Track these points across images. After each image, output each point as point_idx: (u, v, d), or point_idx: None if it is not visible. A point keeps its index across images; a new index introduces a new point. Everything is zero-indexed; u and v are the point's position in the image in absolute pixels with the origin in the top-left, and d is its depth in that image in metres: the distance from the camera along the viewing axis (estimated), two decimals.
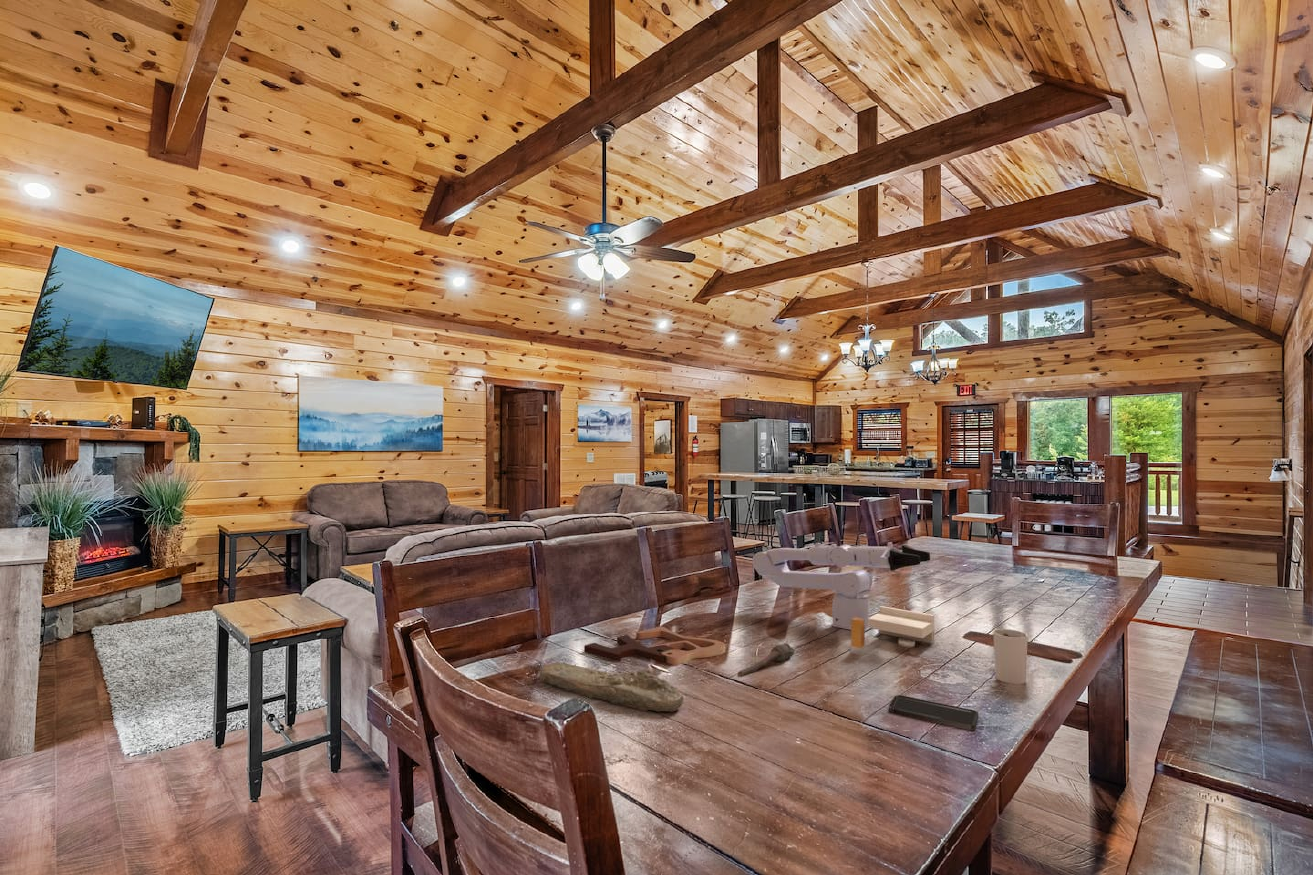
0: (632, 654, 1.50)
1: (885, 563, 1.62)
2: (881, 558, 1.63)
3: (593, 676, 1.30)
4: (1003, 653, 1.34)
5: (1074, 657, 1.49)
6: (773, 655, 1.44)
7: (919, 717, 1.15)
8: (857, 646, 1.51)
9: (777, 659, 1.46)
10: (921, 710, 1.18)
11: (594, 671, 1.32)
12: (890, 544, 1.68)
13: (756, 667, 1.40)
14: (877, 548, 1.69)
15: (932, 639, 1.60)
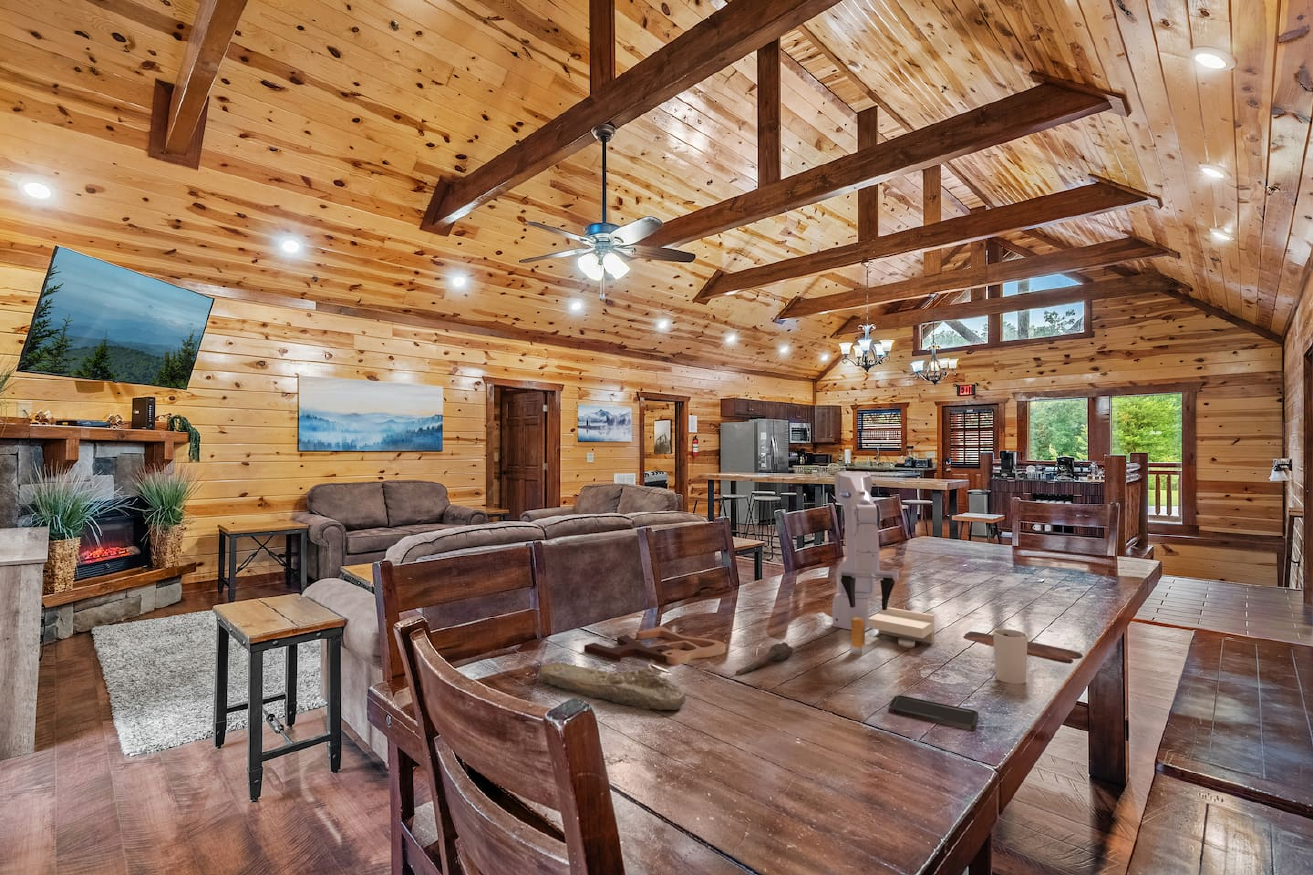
0: (632, 654, 1.50)
1: None
2: None
3: (593, 676, 1.30)
4: (1003, 653, 1.34)
5: (1074, 657, 1.49)
6: (771, 654, 1.44)
7: (919, 717, 1.15)
8: (857, 646, 1.51)
9: (775, 658, 1.46)
10: (921, 710, 1.18)
11: (594, 671, 1.32)
12: (861, 573, 1.51)
13: (754, 666, 1.40)
14: (858, 559, 1.53)
15: (932, 639, 1.60)
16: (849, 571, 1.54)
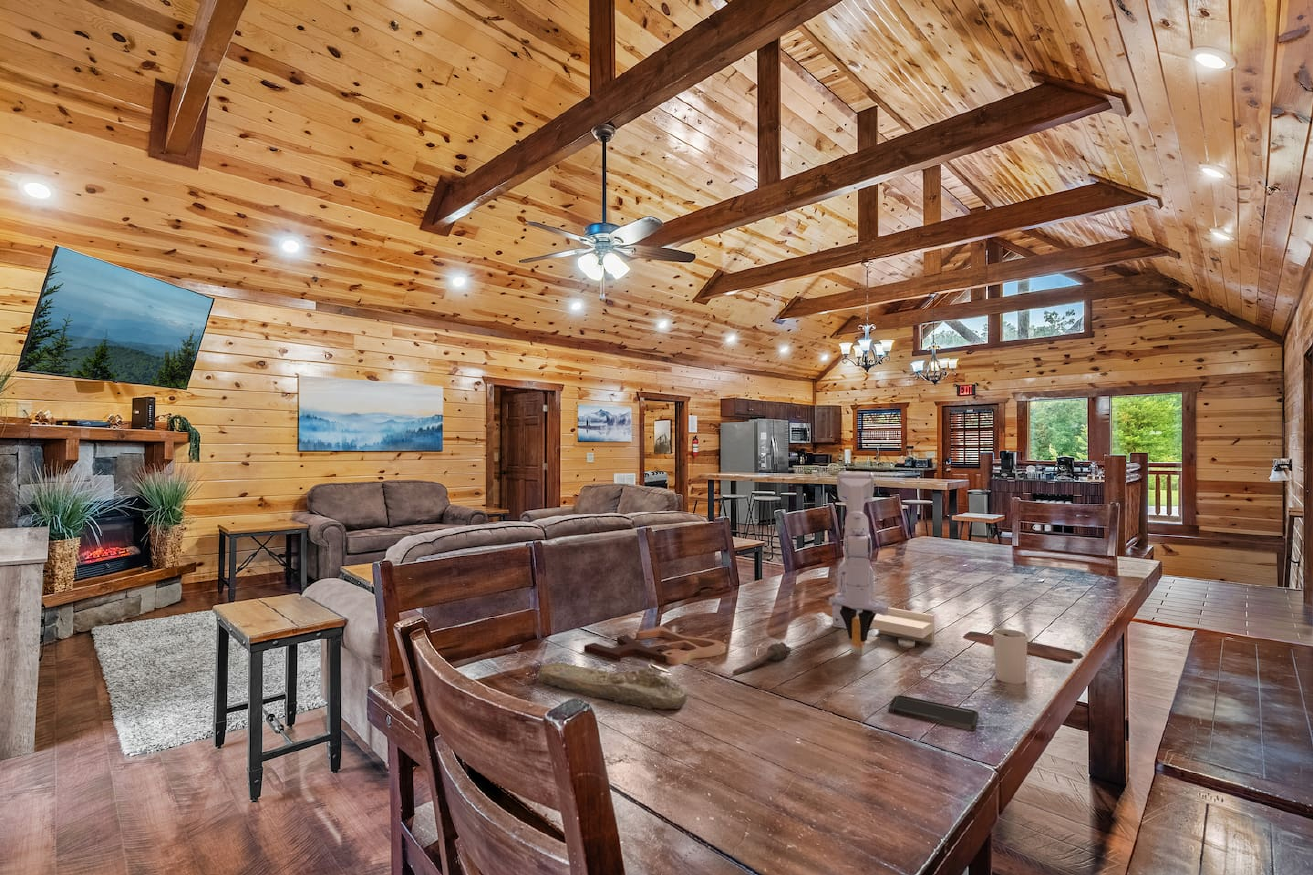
0: (632, 654, 1.50)
1: None
2: None
3: (594, 676, 1.30)
4: (1003, 653, 1.34)
5: (1074, 657, 1.49)
6: (769, 654, 1.45)
7: (919, 717, 1.15)
8: (858, 645, 1.51)
9: (773, 658, 1.46)
10: (921, 710, 1.18)
11: (594, 671, 1.32)
12: None
13: (751, 666, 1.41)
14: (848, 591, 1.52)
15: (932, 639, 1.60)
16: (839, 602, 1.54)
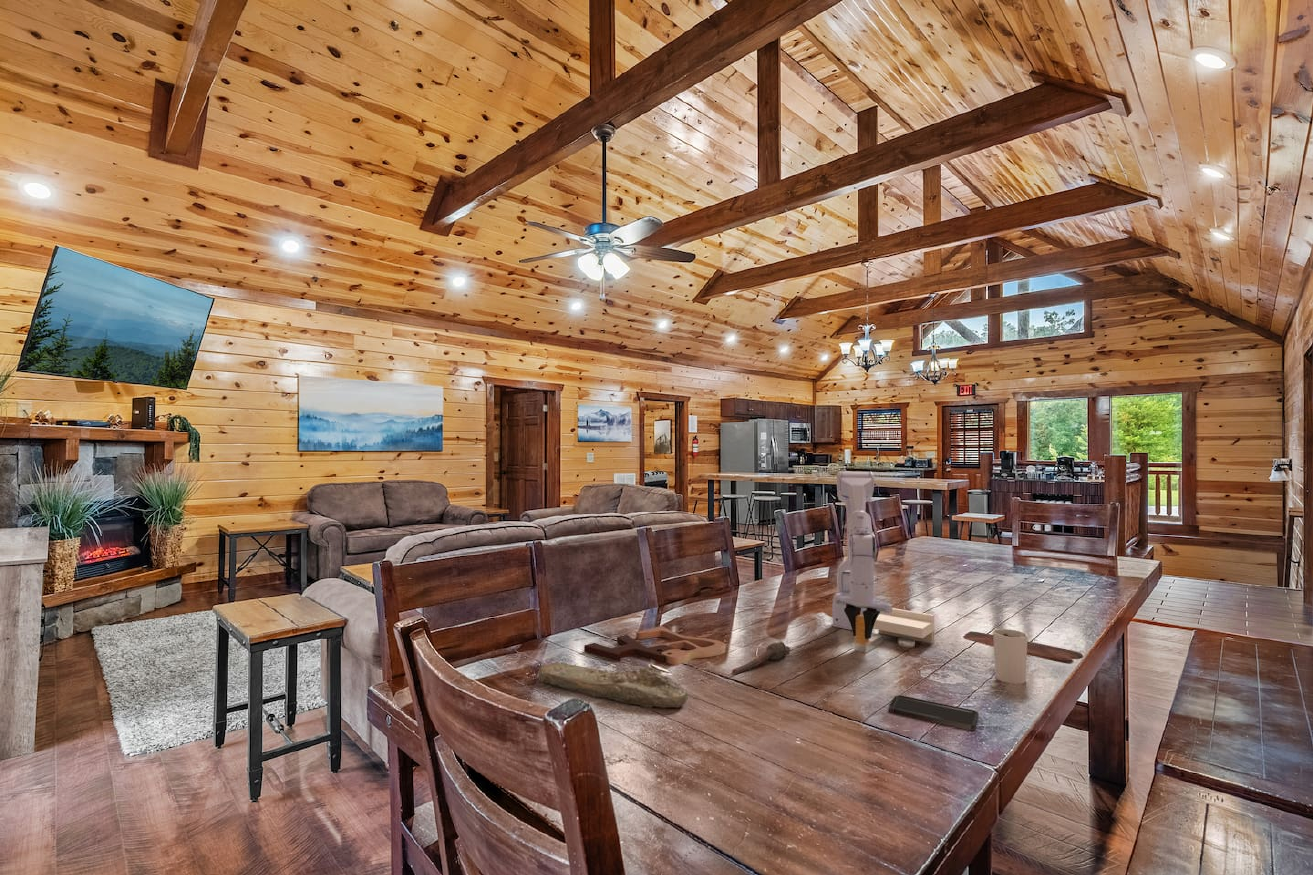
0: (632, 654, 1.50)
1: None
2: None
3: (594, 675, 1.30)
4: (1003, 653, 1.34)
5: (1075, 657, 1.49)
6: (768, 653, 1.45)
7: (919, 717, 1.15)
8: (862, 643, 1.53)
9: (772, 657, 1.46)
10: (921, 710, 1.18)
11: (594, 670, 1.32)
12: None
13: (750, 665, 1.41)
14: (852, 589, 1.54)
15: (932, 639, 1.60)
16: (844, 600, 1.56)
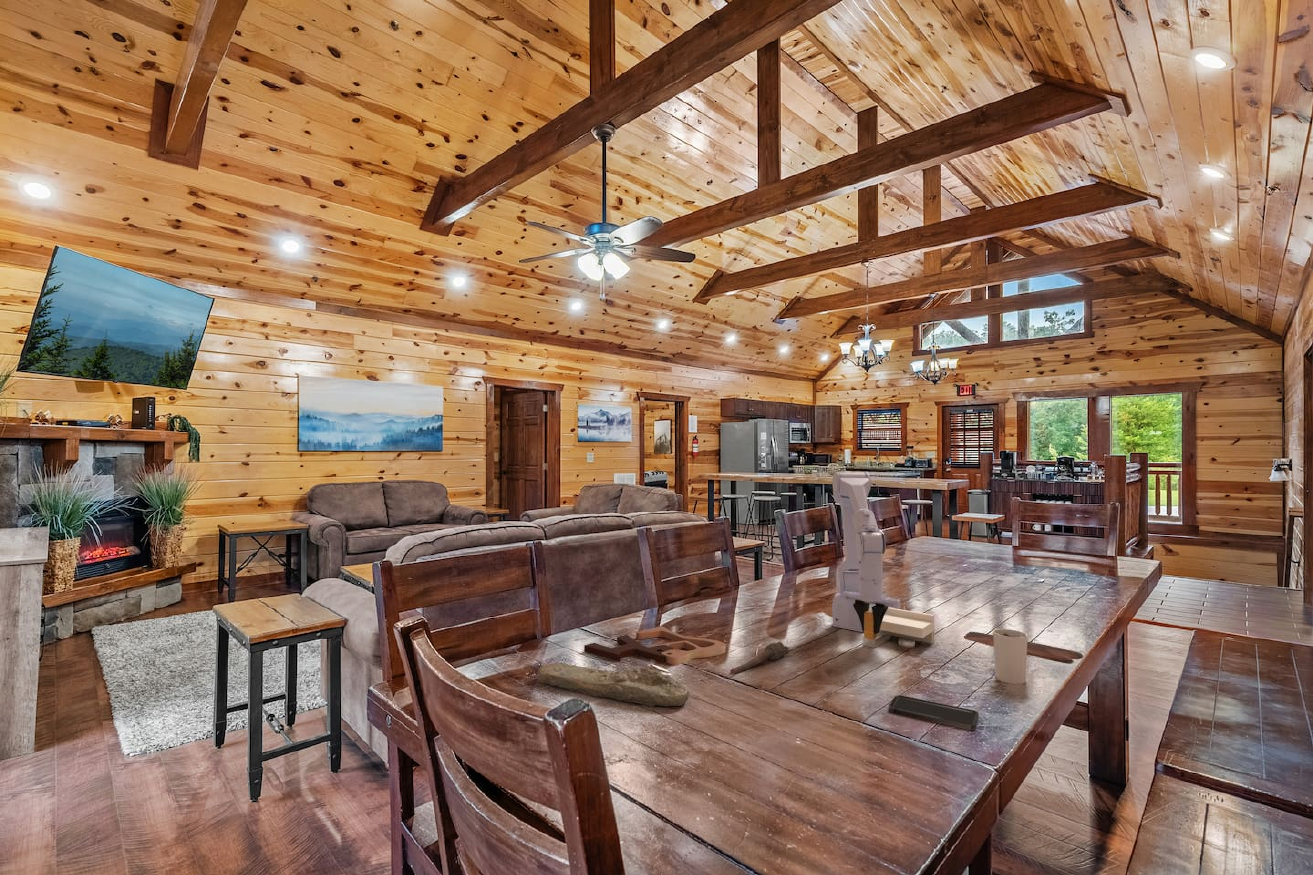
0: (632, 654, 1.50)
1: None
2: None
3: (594, 675, 1.30)
4: (1003, 653, 1.34)
5: (1075, 657, 1.49)
6: (766, 653, 1.45)
7: (919, 717, 1.15)
8: (870, 638, 1.57)
9: (770, 657, 1.47)
10: (921, 710, 1.18)
11: (594, 670, 1.32)
12: None
13: (749, 665, 1.41)
14: (861, 585, 1.58)
15: (932, 639, 1.60)
16: (853, 596, 1.60)
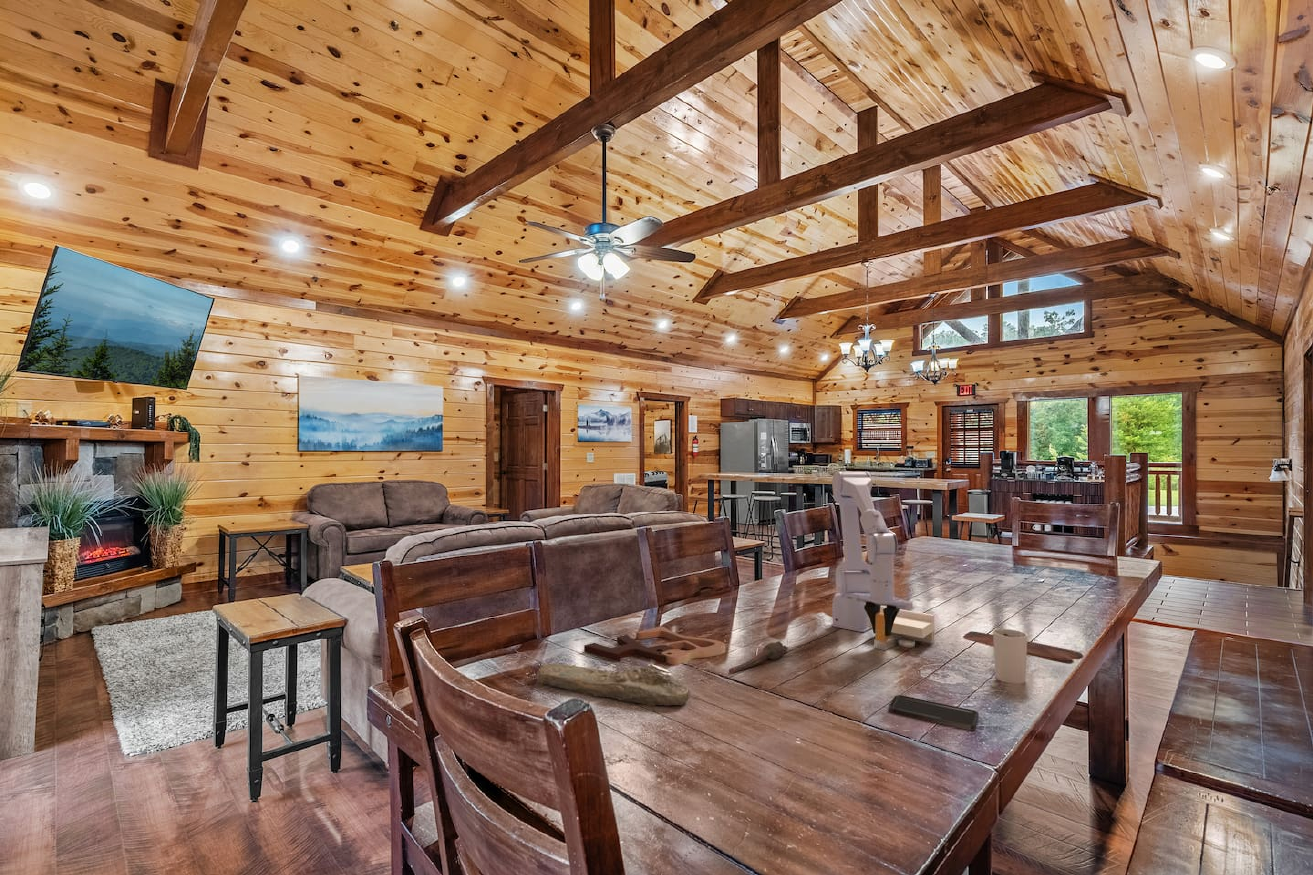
0: (632, 654, 1.50)
1: None
2: None
3: (595, 675, 1.30)
4: (1002, 653, 1.34)
5: (1075, 657, 1.49)
6: (765, 653, 1.45)
7: (919, 717, 1.15)
8: (881, 640, 1.55)
9: (769, 657, 1.47)
10: (921, 710, 1.18)
11: (594, 670, 1.32)
12: None
13: (747, 665, 1.41)
14: (872, 587, 1.56)
15: (932, 639, 1.60)
16: (863, 598, 1.58)
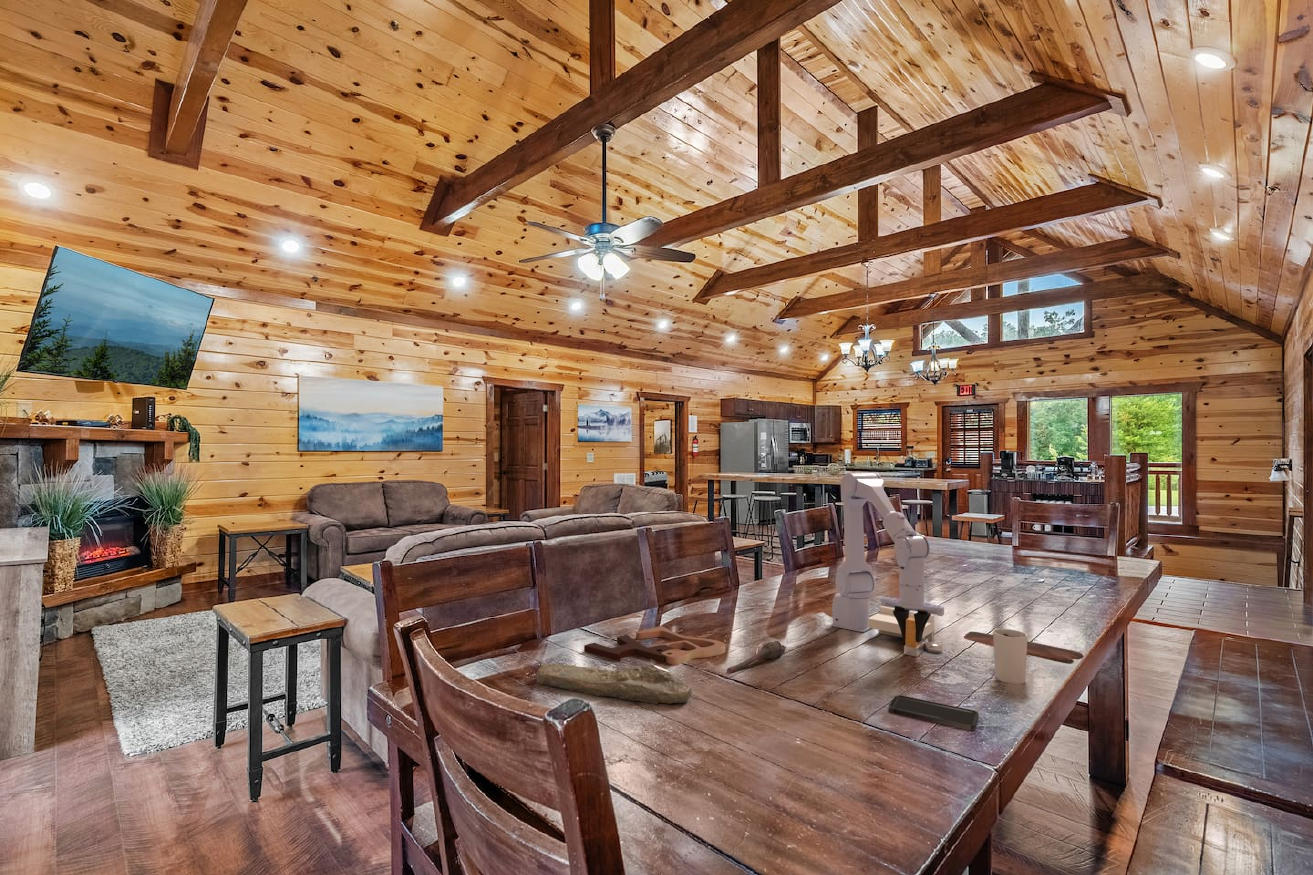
0: (632, 654, 1.50)
1: None
2: None
3: (595, 674, 1.31)
4: (1002, 653, 1.34)
5: (1075, 657, 1.49)
6: (763, 652, 1.46)
7: (919, 717, 1.15)
8: (912, 646, 1.50)
9: (767, 656, 1.47)
10: (921, 710, 1.18)
11: (594, 669, 1.33)
12: None
13: (745, 664, 1.41)
14: (902, 592, 1.51)
15: (932, 639, 1.60)
16: (893, 602, 1.53)
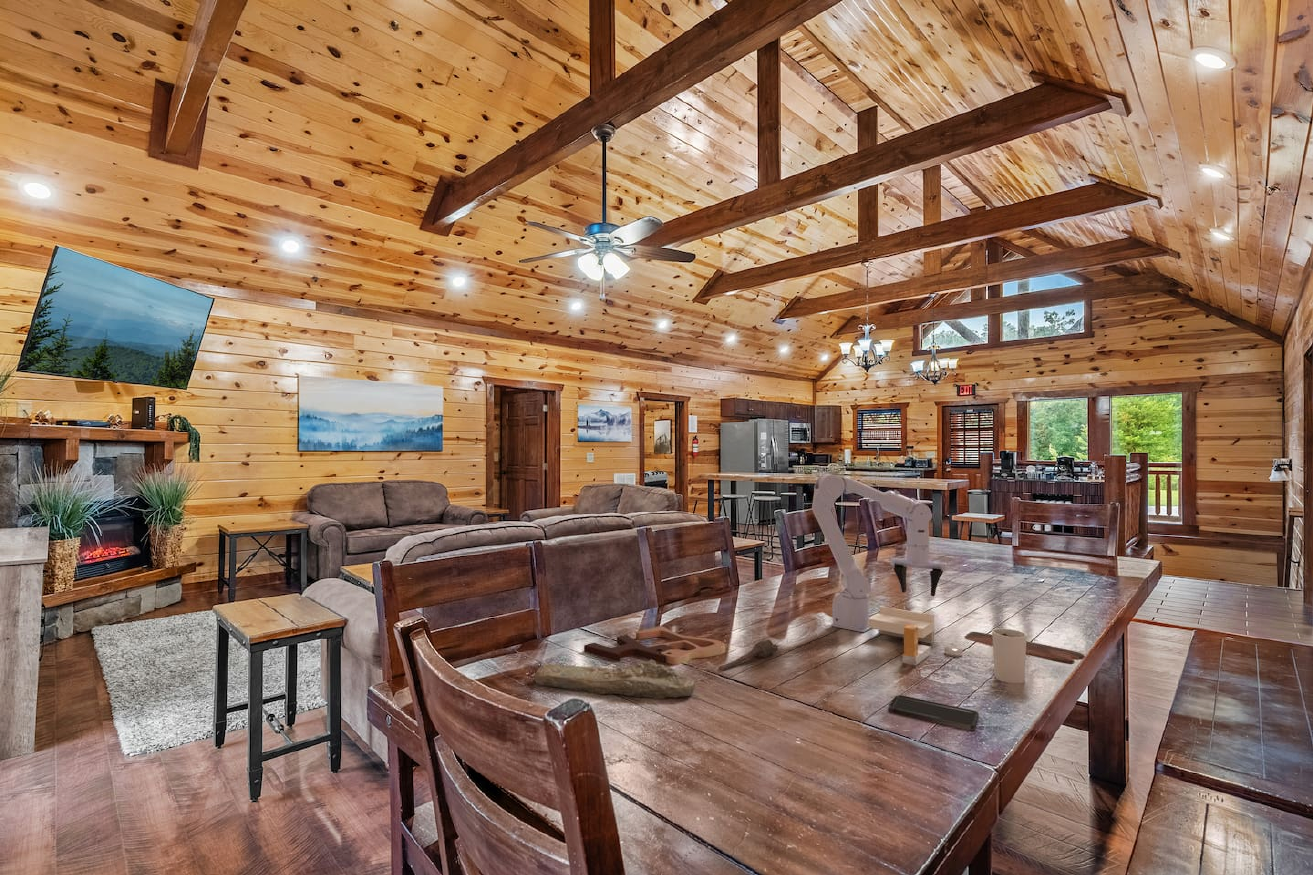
0: (632, 654, 1.50)
1: None
2: None
3: (596, 673, 1.31)
4: (1002, 652, 1.34)
5: (1076, 658, 1.48)
6: (755, 651, 1.47)
7: (919, 717, 1.15)
8: (911, 655, 1.44)
9: (759, 655, 1.48)
10: (921, 710, 1.18)
11: (594, 668, 1.33)
12: (913, 564, 1.70)
13: (737, 662, 1.43)
14: (910, 551, 1.72)
15: (932, 639, 1.60)
16: (901, 561, 1.74)
